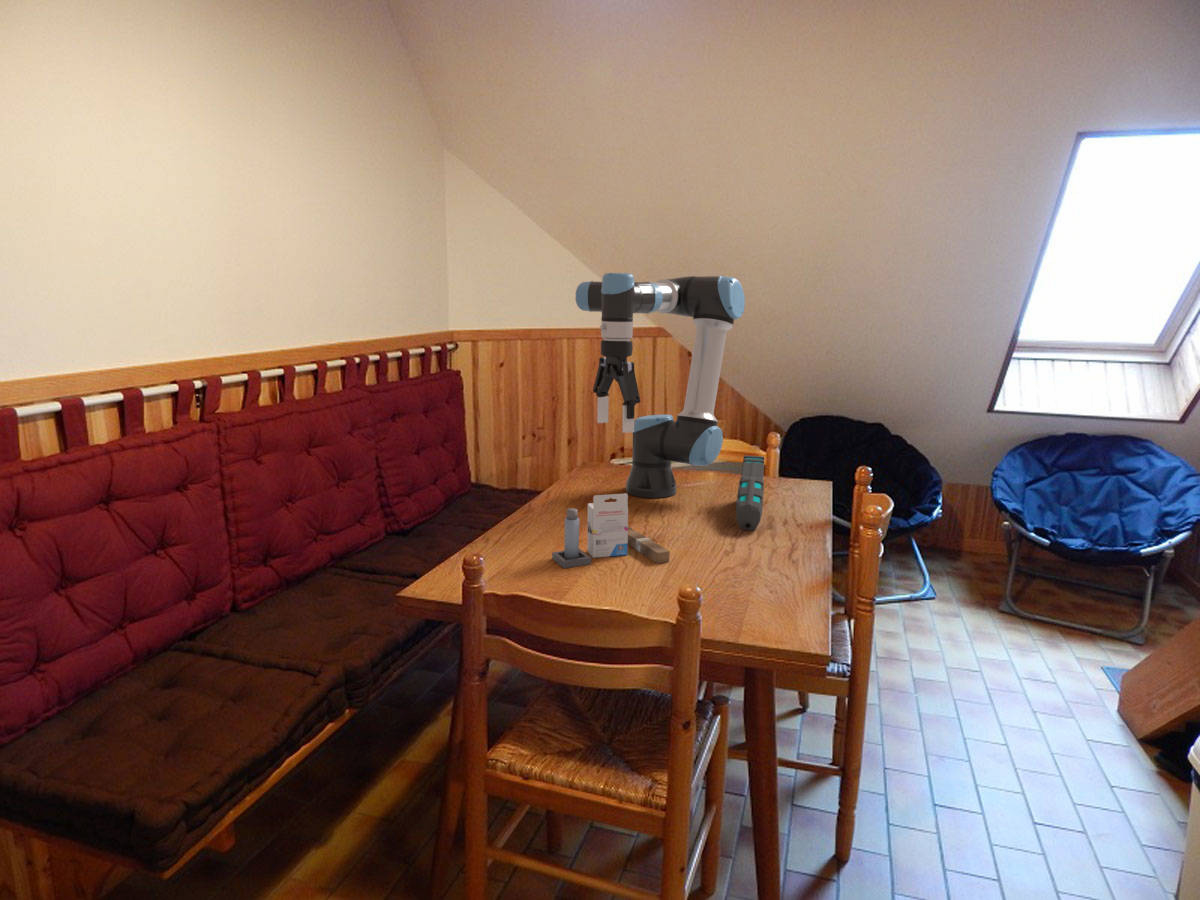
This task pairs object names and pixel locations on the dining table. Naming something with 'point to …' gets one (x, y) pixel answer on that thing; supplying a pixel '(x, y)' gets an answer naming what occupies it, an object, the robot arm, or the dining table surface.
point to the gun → (750, 493)
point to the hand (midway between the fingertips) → (614, 427)
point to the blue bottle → (571, 535)
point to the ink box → (608, 526)
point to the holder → (580, 561)
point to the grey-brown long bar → (647, 547)
